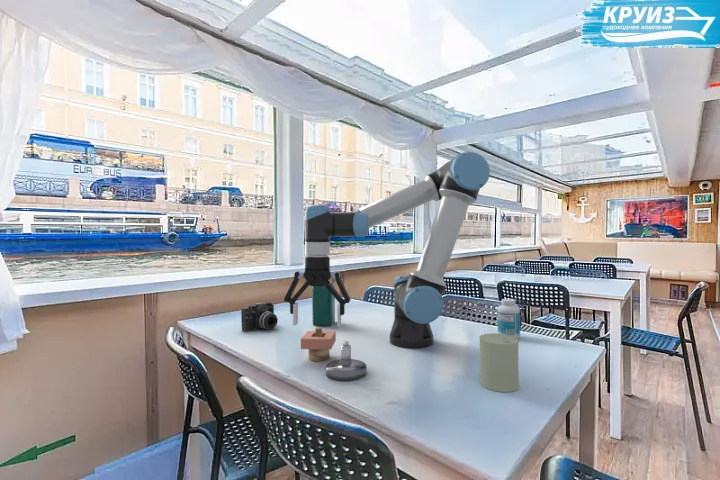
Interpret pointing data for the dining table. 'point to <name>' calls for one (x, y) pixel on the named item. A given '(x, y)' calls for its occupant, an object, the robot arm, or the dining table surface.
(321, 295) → the green bottle
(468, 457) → the dining table surface
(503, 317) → the pill bottle
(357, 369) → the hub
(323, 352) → the stand
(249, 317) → the camera
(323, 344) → the terracotta clay block
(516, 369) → the can
